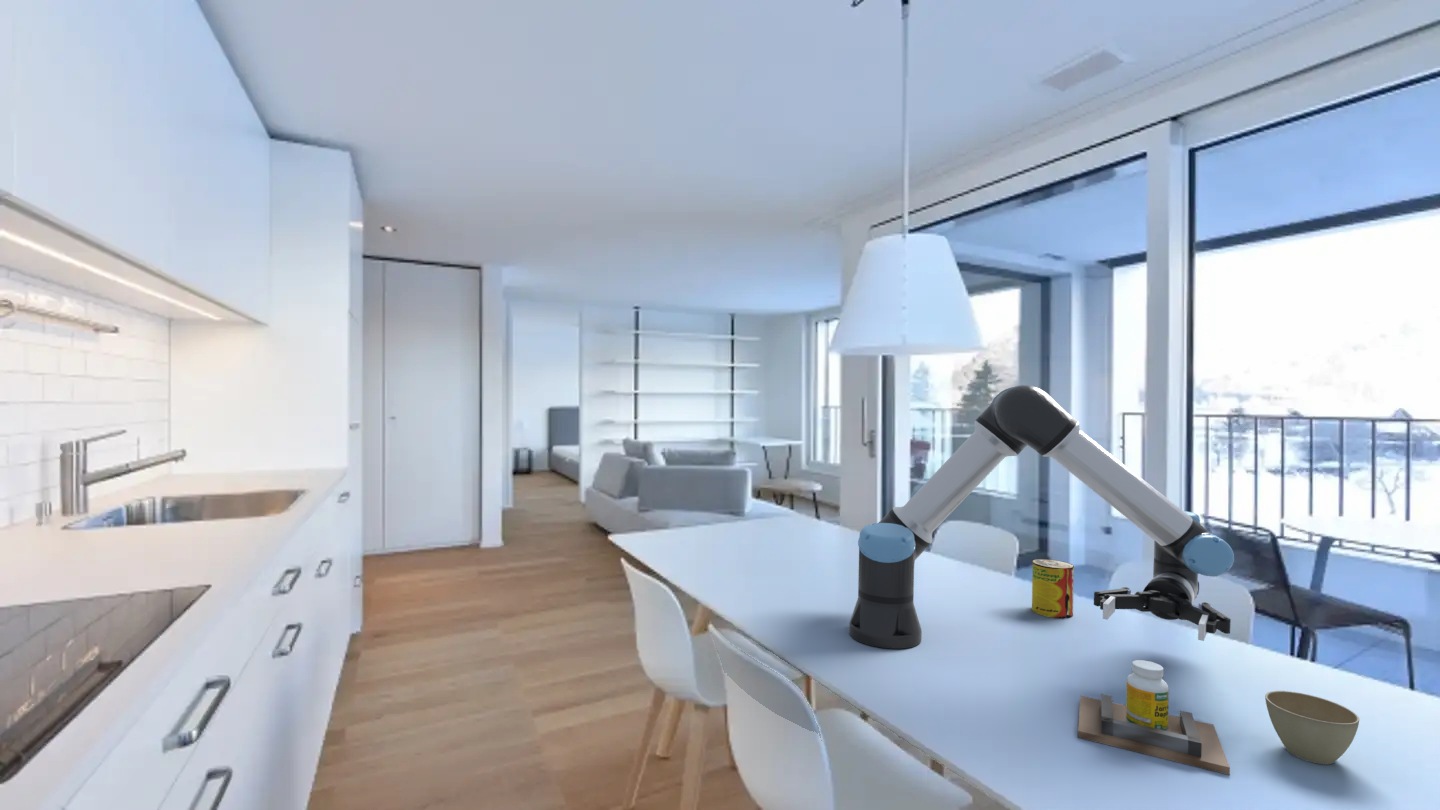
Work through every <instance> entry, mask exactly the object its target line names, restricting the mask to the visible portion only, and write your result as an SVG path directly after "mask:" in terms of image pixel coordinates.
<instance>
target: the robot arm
mask: <svg viewBox="0 0 1440 810" xmlns="http://www.w3.org/2000/svg"><path fill="white" fill-rule="evenodd" d="M1027 446H1028V447H1030V448H1032V449H1033V450H1034V451H1035V452H1037V453H1038V454H1039V455H1040V456H1042V457H1045V458H1046V457H1048V458H1049V457H1050V458H1052V459H1053V460H1055V462H1057V463H1058V464H1059V465H1061V466H1062V467H1063V468H1065V469H1066V470H1067V471H1068V472H1069V473H1071V474H1072V475H1073V476H1074V477H1076V478H1077V479H1078V480H1079V481H1081V482H1082V483H1083V484H1084V485H1086V487H1088V488H1089V489H1091V490H1092V491H1093V492H1094V493H1095V494H1096V495H1098V496H1099V497H1100V498H1102V500H1104V501H1105V502H1106V503H1108V504H1109V505H1110V506H1111V507H1113V508H1114V509H1115V510H1116V511H1118V512H1119V513H1120V514H1121V515H1122V516H1123V517H1125V518H1126V519H1127V520H1129V521H1130V522H1131V523H1132V524H1134V526H1136V527H1137V528H1139V529H1140V530H1141V531H1142V532H1143V533H1145V534H1146V535H1148V537H1150V538H1151V539H1152V540H1154V542H1153V544H1154V545H1153V548H1154V549H1153V551H1154V552H1153V567H1152V571H1153V572H1152V579H1151V580H1150V581H1149V582H1147V584H1146V586H1145V587H1144V588H1143V590H1142V591H1136V592H1135V593H1134V592H1132V590H1131V589H1130V587H1126V586H1124V587H1121V588H1117V589H1105V590H1097V591H1093V605H1094V606H1095V607H1099V609H1100V610H1101V611H1102V619H1104V620H1107V621H1108V619H1110V617H1112V615H1114V613H1115V611H1116V610H1137V611H1139V612H1141V613H1143V612H1144V613H1146V612H1147V613H1148V612H1150V613H1151V614H1152V615H1154V616H1156V617H1157V618H1160V619H1163V620H1167V621H1175V620H1181V621H1188V622H1190V623H1193V624H1195V625H1197V626H1198V630H1197V632H1198V634H1197V635H1198V636H1197V640H1198V641H1202V642H1204V641H1205V639H1206V636H1207V633H1210V634H1215V633H1216V632H1217V630H1218V631H1219V632H1221V633H1223V634H1226V635H1229V634H1231V620H1232V618H1230V617H1229V616H1227V615H1225V614H1223V613H1222V612H1221V611H1218V610H1217V609H1216V608H1214V607H1212V606H1211V603H1209V602H1201V603H1198V605H1195V604H1193V603H1194V600H1195V599H1196V598H1197V596H1198V595H1199V593H1200V581H1199V574H1200V575H1202V576H1204V577H1218V576H1219V577H1220V576H1221V575H1224V574H1226V573H1227V572H1229V570H1230V569H1231V568H1232V567H1233V565H1234V562H1235V554H1234V550H1233V549H1232V547H1231V546H1230V545H1229V543H1228V542H1227V541H1225V540H1224V539H1223V538H1222V537H1220V536H1218V535H1215V534H1213V533H1212V532H1210V531H1209V530H1208V529H1207V528H1205V527H1204V526H1203V525H1201V518H1200V516H1199V515H1198V514H1197V513H1195V512H1192V511H1187V510H1182V508H1180V507H1179V506H1178V505H1176V504H1175V503H1173V502H1172V501H1171V500H1170V499H1169V498H1168V497H1166V496H1165V495H1163V493H1161V492H1160V491H1159V490H1157V489H1156V488H1155V487H1153V485H1151V484H1150V483H1148V481H1146V480H1144V479H1143V477H1141V476H1139V474H1137V473H1136V472H1134V471H1133V470H1132V469H1131V468H1130V467H1128V466H1127V465H1126V464H1124V463H1123V462H1122V461H1121V460H1120V459H1118V458H1117V457H1116V456H1114V455H1113V454H1112V453H1110V451H1108V450H1107V449H1105V448H1104V447H1103V446H1101V444H1099V443H1098V442H1097V441H1095V440H1094V439H1093V438H1091V437H1090V436H1089V435H1088V434H1086V433H1085V432H1084V431H1083V430H1081V428H1080V421H1078V420H1077V419H1076V418H1075V417H1074V416H1072V414H1070V413H1069V412H1068V411H1067V410H1065V409H1064V407H1062V406H1061V405H1060V404H1059V403H1058V402H1057V401H1055V399H1054V398H1053V397H1052V396H1051V395H1050V394H1048V393H1047V392H1046V391H1045V390H1043V389H1041V388H1039V387H1036V386H1034V385H1024V384H1021V385H1016V386H1012V387H1008V388H1005V389H1004V390H1001V391H1000V392H999V393H997V395H995V397H993V399H992V401H991V403H990V404H989V405H988V406H987V407H986V408H985V410H983V412H981V414H980V415H979V416H978V417H977V418H976V419H975V421H974V431H973V432H972V434H971V435H970V436H968V438H966V440H965V441H964V442H963V443H962V444H961V445H960V446H959V447H958V448H957V449H956V450H955V451H954V452H953V454H952V455H950V457H949V458H947V460H946V461H945V462H944V463H943V464H942V465H941V466H940V467H939V468H938V469H937V471H936V472H934V474H933V475H932V476H931V477H930V478H929V479H928V480H927V481H926V482H925V483H924V484H923V485H922V486H921V487H920V488H919V490H918V491H917V492H915V494H914V495H913V496H912V497H911V498H910V499H909V500H908V501H907V502H906V503H905V504H904V505H903V506H894V507H893V508H891V509H890V510H889V511H888V512H887V514H885V515H884V516H883V518H882V519H881V520H880V521H878V522H877V523H872V524H868V525H864V527H862V528H861V530H860V532H859V536H858V537H859V538H858V541H857V544H858V578H857V579H858V580H857V581H858V583H857V585H858V586H857V589H858V591H857V600H856V603H855V606H854V609H853V610H852V614H851V617H850V620H849V623H848V624H849V625H848V626H849V627H848V628H849V630H848V631H849V632H848V633H849V635H850V637H852V638H853V639H854V640H856V641H857V642H860V643H862V644H865V645H867V646H871V647H877V648H883V649H892V650H893V649H895V650H896V649H897V650H898V649H899V650H900V649H909V648H913V647H917V646H918V645H920V643H921V642H922V634H923V633H922V627H921V623H920V620H919V616H918V613H917V611H916V607H915V603H914V602H915V601H914V597H915V596H914V593H915V589H914V587H915V586H914V585H915V561H916V560H917V559H918V558H919V557H920V556H921V555H922V554H923V553H924V552H925V550H926V549H927V548H928V547H929V546H930V545H932V543H933V532H934V531H935V530H936V529H937V528H938V527H939V526H940V525H941V524H942V523H943V522H944V521H945V520H946V519H947V517H949V515H951V514H952V513H953V512H954V511H955V509H956V508H958V507H959V505H961V503H963V502H964V500H966V498H967V497H968V496H969V495H970V494H971V493H972V492H973V491H974V490H975V489H976V488H977V487H978V486H979V485H980V484H981V483H982V482H983V481H984V480H985V479H986V478H987V476H989V474H990V473H991V472H993V470H994V469H996V467H997V466H999V464H1000V463H1001V462H1003V460H1004V459H1005V458H1007V457H1017V456H1018V455H1019V454H1020V453H1021V452H1022V451H1023V450H1024V449H1026V447H1027Z"/></svg>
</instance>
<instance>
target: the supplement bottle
mask: <svg viewBox="0 0 1440 810" xmlns="http://www.w3.org/2000/svg"><path fill="white" fill-rule="evenodd" d="M1131 670H1132V671H1131V672H1132V673H1130V674H1129V675H1127V677H1126V706H1127V708H1126V720H1127V722H1130V723H1134V724H1138V725H1143V726H1147V727H1152V728H1156V729H1160V730H1165V731H1168V715H1169V694H1170V692H1169V690H1170V689H1169V687H1170V686H1169V685H1168V683H1167V682H1166V681H1165V680H1164V679H1163V678H1164V667H1163V666H1162V665H1161V664H1158V663H1156V662H1153V661H1150V660H1145V659H1144V660H1143V659H1135V660H1132V662H1131Z"/></svg>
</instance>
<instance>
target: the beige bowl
mask: <svg viewBox="0 0 1440 810" xmlns="http://www.w3.org/2000/svg"><path fill="white" fill-rule="evenodd" d="M1264 698H1265V705H1266V709H1267V712H1268V716H1269V720H1270V721H1271V724H1272V726H1273V728H1274V730H1275V732H1276V734H1277V736H1278V738H1279V740H1280V741H1281V744H1282V745H1283V747H1284V748H1285V749H1286V751H1287V752H1289V753H1290V754H1291V755H1293V756H1294V757H1296V758H1299V759H1301V760H1304V761H1307V762H1310V763H1314V764H1318V765H1332V764H1334V763H1335V762H1336V761H1338V760H1339V759H1340V758H1341V757H1342V756H1344V755H1343V754H1345V753H1346V752H1347V750H1349V747H1350V746H1351V744H1352V743H1353V741H1354V740H1355V737H1356V735H1357V731H1358V728H1359V725H1360V724H1359V723H1360V716H1359V715H1358V714H1357V713H1356V712H1354V711H1353V710H1351V709H1349V708H1347V707H1346V706H1344V705H1342V704H1339V703H1337V702H1335V701H1332V700H1328V699H1326V698H1323V697H1320V696H1315V695H1312V694H1308V693H1307V694H1306V693H1303V692H1297V691H1289V690H1270V691H1269V692H1267V693H1265V696H1264Z"/></svg>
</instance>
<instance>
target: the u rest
mask: <svg viewBox="0 0 1440 810" xmlns="http://www.w3.org/2000/svg"><path fill="white" fill-rule="evenodd" d="M1079 697H1080V698H1079V711H1078V712H1079V715H1078V727H1077V731H1078V732H1077V734H1078V735H1077V738H1078V737H1079V739H1084V740H1087V741H1091V742H1094V743H1099V744H1104V745H1107V746H1112V747H1116V748H1119V749H1123V750H1128V751H1130V752H1136V753H1138V754H1139V753H1140V754H1144V755H1148V756H1152V757H1155V758H1159V759H1164V760H1167V761H1171V762H1175V763H1176V762H1177V763H1179V764H1184V765H1188V766H1192V767H1196V768H1201V769H1204V770H1209V771H1212V772H1217V773H1220V774H1224V775H1229V776H1230V774H1231V770H1230V769H1231V767H1230V764H1229V761H1228V759H1227V756H1226V752H1225V751H1224V749H1223V745H1222V743H1221V741H1220V738H1219V734H1218V733H1217V730H1216V728H1215V725H1214V724H1212V723H1208V722H1204V721H1199V720H1195V719H1194V716H1193V713H1192V712H1191V711H1190V712H1189V711H1185V710H1179V716H1177V715H1176V716H1175V715H1171V714H1168V731H1165V730H1160V729H1156V728H1152V727H1147V726H1143V725H1138V724H1134V723H1130V722H1127V720H1126V708H1127V704H1125V705H1124V704H1121V703H1117V702H1113V696H1112V695H1108V694H1104V693H1101V695H1100V699H1098V698H1094V697H1089V696H1084V695H1080V696H1079Z"/></svg>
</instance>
